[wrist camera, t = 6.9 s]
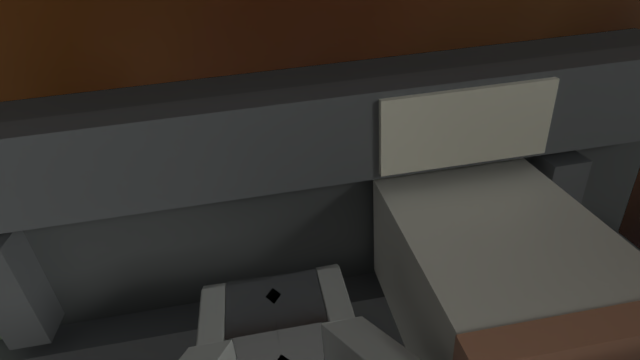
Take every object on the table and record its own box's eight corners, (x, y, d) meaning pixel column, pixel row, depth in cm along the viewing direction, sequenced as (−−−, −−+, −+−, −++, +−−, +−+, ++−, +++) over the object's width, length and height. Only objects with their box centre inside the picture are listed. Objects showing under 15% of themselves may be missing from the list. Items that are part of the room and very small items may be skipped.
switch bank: (635, 28, 12) (726, 51, 10) (534, 389, 20) (572, 448, 18) (-160, 120, 10) (-274, 176, 8) (80, 482, 18) (57, 561, 16)
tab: (524, 155, 12) (729, 317, 7) (507, 248, 13) (665, 435, 8) (371, 177, 11) (473, 368, 6) (372, 271, 13) (455, 481, 8)
